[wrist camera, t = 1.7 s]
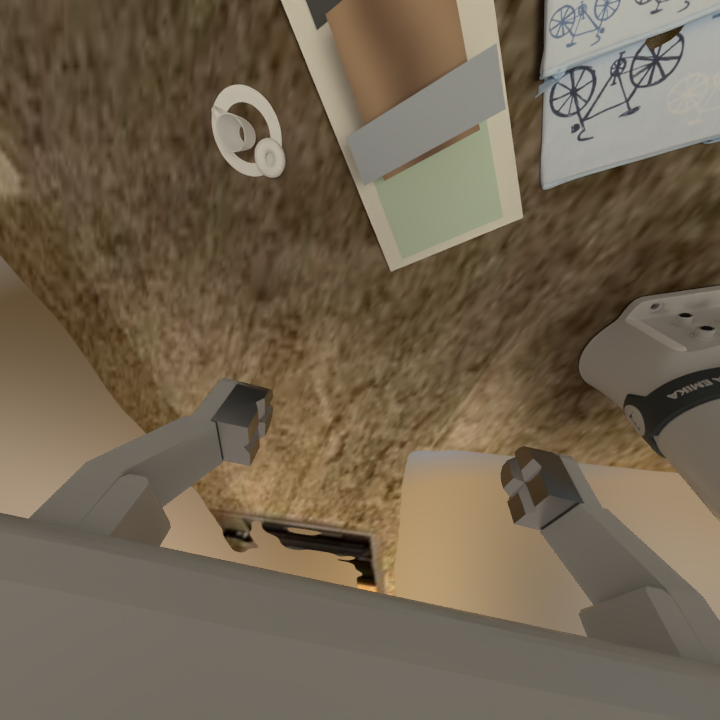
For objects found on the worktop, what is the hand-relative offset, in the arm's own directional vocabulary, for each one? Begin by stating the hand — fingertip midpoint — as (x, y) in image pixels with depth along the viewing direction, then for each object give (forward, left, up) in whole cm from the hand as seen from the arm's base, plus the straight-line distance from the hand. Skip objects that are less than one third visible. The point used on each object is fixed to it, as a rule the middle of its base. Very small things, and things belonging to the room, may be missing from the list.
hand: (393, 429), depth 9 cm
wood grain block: (-5, -11, -31) cm, 33 cm away
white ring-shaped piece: (+14, -13, -33) cm, 38 cm away
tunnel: (-5, -8, -32) cm, 33 cm away
